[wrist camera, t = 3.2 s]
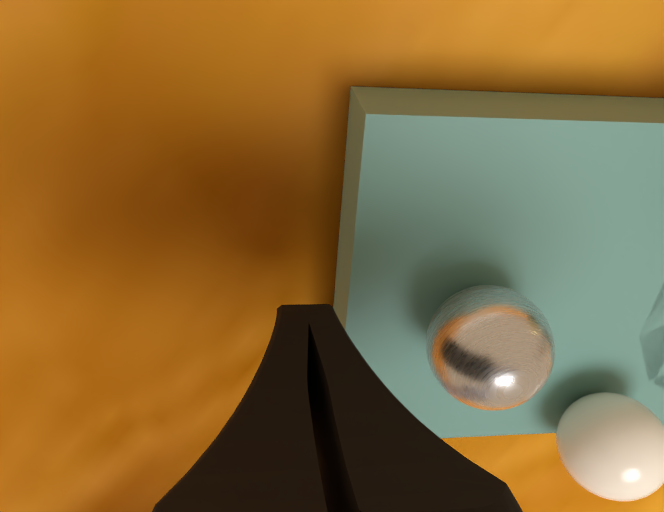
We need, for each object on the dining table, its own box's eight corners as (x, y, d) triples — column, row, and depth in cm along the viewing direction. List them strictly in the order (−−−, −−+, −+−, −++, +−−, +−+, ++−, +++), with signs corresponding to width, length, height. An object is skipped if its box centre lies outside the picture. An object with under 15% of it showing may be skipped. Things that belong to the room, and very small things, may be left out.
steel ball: (508, 349, 16) (557, 435, 13) (405, 352, 16) (435, 440, 13) (535, 261, 14) (598, 337, 12) (422, 261, 14) (459, 341, 11)
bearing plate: (326, 387, 19) (334, 442, 17) (350, 86, 14) (366, 114, 12) (779, 372, 22) (834, 419, 20) (960, 109, 16) (1065, 135, 14)
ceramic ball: (613, 435, 19) (671, 520, 16) (528, 439, 18) (573, 527, 16) (646, 369, 17) (718, 451, 14) (554, 372, 17) (609, 457, 14)
